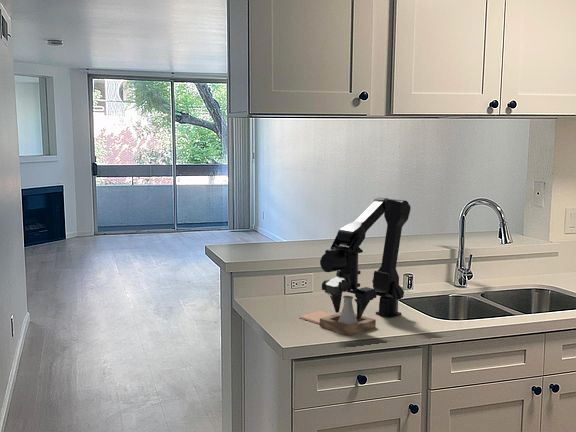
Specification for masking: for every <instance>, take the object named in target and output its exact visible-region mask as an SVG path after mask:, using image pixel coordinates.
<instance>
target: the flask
mask: <svg viewBox="0 0 576 432" xmlns="http://www.w3.org/2000/svg"><path fill="white" fill-rule="evenodd" d="M342 296H343V297H342V298H343V304H342V305H343V306H342V310H341V312H340V313H341V315H340V318H339V320H338V322H341V323H344V324H347V325H350V324H354V323H357V319H356V316H355V314H356V313H355V310H354V306H353V300H354V296H353V295H349V294H346V295H342Z"/></svg>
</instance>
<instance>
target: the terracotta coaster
mask: <svg viewBox="0 0 576 432" xmlns="http://www.w3.org/2000/svg"><path fill="white" fill-rule="evenodd" d="M331 315H334V314H333V313H329V312H325V311H324V310H317V311H313V312H311V313H306V314H302V315H300V316H299V318H300V319H302V320H305V321H308V322H311V323H314V324H318V325H320V318H324V317H327V316H331Z"/></svg>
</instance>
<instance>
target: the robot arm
mask: <svg viewBox="0 0 576 432" xmlns="http://www.w3.org/2000/svg"><path fill="white" fill-rule="evenodd" d="M373 199H374V200H373V202H372V203H371V204H370V205H369V206H367V208H366V209H365V210H364V211H363V212H362V213H361V214H360V215H359V217H357V218H356V219H355V220H354V221H353V222H350V223H347V224H346V225H344V226H342V227H341V228H340V229H338V231H337V233H336V236H335V238H334V239H333V242H332V244H331V246H330V249H325V253H324V254H323V255H322V256H321V257H320V259H319V260H320V261H319V262H320V267H321V270H323V271H324V272H325V273H331V272H332V273H333V272H336V273H335V275H336V276H335V277H332V278H331V279H326V280H324V281H322V283H321V290H322V291H324V293H325V294H327V295H328V296H329V297H330V300H331V303H332V306H333V308H334V311H335V314H338V313H340V309H341V303H342V298H343V297H342V296H343V293H349V294H354V297H355V298H353V300H354V301H355V303H356V314H357V319H360V318H361V316H363V314H364V312H365V310H366V308H367V306H368V305H369V303H370V302H371V301H373V300H374V299H377V297H379V302H378V311H376V312H375V315H379V316H382V317H386V318H394V317H397V316H401V315H402V312H401V311H399V301H400V300H402V299H403V298H404V296H405V291H404V290H403V288H402V286H401V285H400V283H399V282H400V276H399V273H398V270H397V263H398V256H399V251H400V243H401V237H402V230H403V227H404V225H405V224H406V223H407V222H408V221H409V217H410V213H411V205H410V204H409V201H407V200H404V199H393V198H387V197H379V196H378V197H376V198H373ZM383 215H384V220H385V222H386V224H387V225H386V232H385V237H384V246H383V252H382V259H381V265H380V267H379V269H378V270H374V271H373V277H372V280H371V281H372V287H373V288H371V287H367V286H365V287H361V283H360V282H359V281H358V280H359V278H358V276H359V275H361V270H359V254H362V253H363V252H364V251H363V249H362V248H361V247H360V246H361V245H362V243H363V242H364V240H365V239H366V233H367V231H369V229H370V228H371V227H372V226H374V224H375V223H376V222H377V221H378V220H379V219H380V218H381V217H382V216H383ZM359 287H360V288H359Z"/></svg>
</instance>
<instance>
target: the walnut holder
mask: <svg viewBox="0 0 576 432" xmlns="http://www.w3.org/2000/svg"><path fill="white" fill-rule="evenodd" d="M340 315H341V312H338V313H334V314H333V315H331V316H327V317H324V318H320V324H319V327H321V328H324V329H328V330H331V331H333V332H336V333H340V334H343V335H346V336H352V335H355V334H359V333H363V332H364V331H369V330H371V329H374V328H376V325H377V324H376V321H377V319H374V318H371V317H367V316H364V315H362V316H361V318H360V319H357V313H355V316H356V319H357V323H354V324H350V325H347V324H344V323H341V322H338V320H339V318H340Z"/></svg>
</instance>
